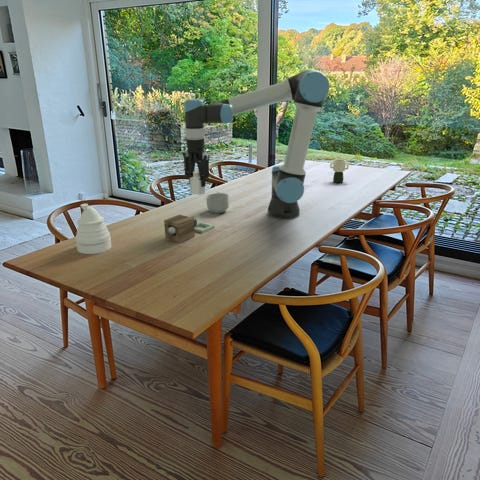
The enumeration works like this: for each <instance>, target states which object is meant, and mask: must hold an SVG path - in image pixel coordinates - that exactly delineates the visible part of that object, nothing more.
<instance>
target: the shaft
mask: <svg viewBox="0 0 480 480" xmlns="http://www.w3.org/2000/svg"><path fill="white" fill-rule="evenodd" d="M191 217H192V218H194V228H195V227H196V226H197V223H198V220H197V219H196V218H195V217H194V216H191ZM196 228H197V227H196ZM168 233H169V234H170V235H172V234H175V233H176V229H175V226H172V227H170V228H168Z"/></svg>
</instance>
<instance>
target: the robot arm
mask: <svg viewBox="0 0 480 480" xmlns="http://www.w3.org/2000/svg"><path fill="white" fill-rule="evenodd" d="M329 91H330V81H329V78H328V77H327V75H325V74H324V73H323V72H321V71H320V70H318V69H316V70H315V69H307V70H303V71H301V72H299V73H296V74H295V75H292V76H290V77H289V76H288V77H286V78H285V79H284V81H282V82H278V83H275V84H272V85H267V86H266V87H262V88H259V89H255V90H252V91H247V92H245V93H242V94H238V95H236V96H232V97H228V98H225V99H223V100H216V101H214V102H213V103H210V104H204V100H203V99H201V98H198V99H197V98H191V99H185V101H184V123H185V124H184V125H185V137H186V140H185V141H186V143H185V144H186V148H187V151H184V152H182V157H183V166H184V175H185V176H186V177H188V185H189V192H190V193H191V194H192V185H191V180H192V179H193V172H194V171H196V170H195V168H196V165H197V171H199V175H200V179H199V195H198V196H200V195H201V196H202V195H204V194H205V193H206V190H205V188H206V185H207V184H206V179H208V178H210V164H209V162H210V157H211V156H210V154H207V153H205V150H204V149H205V145H206V144H205V139H204V138H205V124H224V125H225V124H231V123H233V121H234V120H233V118H234V116H237V115H240V114H243V113H247V112H251V111H254V110H257V109H260V108H264V107H268V106H271V105H275V104H276V103H280V102H284V101H291V102H293V103H294V105H295V107H296V108H295V112H294V117H293V121H292V122H293V123H292V126H291V131H290V136H289V139H288V144H287V147H286V148H287V149H286V153H285V158H284V162H283V164H281V165H279V164H278V165H274V166H272V167H271V168H272V169H271V198H270V201H269V204H268V207H267V215H268V216H269V217H271V218H276V219H294V218H296V217H299V216H300V214H301V213H300V212H301V211H300V207H299V206H300V205H299V203H298V201H299V200H301V198H303V196H304V193H305V185H304V183H305V180H306V179H305V178H306V176H307V175H306V174H307V173H306V171H305V163H306V159H307V156H308V150H309V147H310V143H311V139H312V135H313V130H314V126H315V123H316V117H317V113H318V111H320V110H322V108H323V104H324V100H325V98H326V97H327V96H328V95H329Z"/></svg>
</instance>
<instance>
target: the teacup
mask: <svg viewBox="0 0 480 480" xmlns="http://www.w3.org/2000/svg"><path fill="white" fill-rule="evenodd" d="M205 199H206V206H207V209H208V211H210V212H211V213H212V214H222V213H224V212H226V211H227V210H228V208H229V205H230V204H229V203H230V202H229V194H228V193H225V192H218V191H217V192H216V193H215V192H214V193H210V194H208V195H206V196H205Z"/></svg>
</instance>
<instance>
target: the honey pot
mask: <svg viewBox="0 0 480 480" xmlns="http://www.w3.org/2000/svg"><path fill="white" fill-rule="evenodd" d="M80 208H81V209H82V213H81V216H80V217H79V218H78V219H77V220H76V223H77V224H78V225H77V228H76V230H77V231H76V234H75V243H76V249H77V252H78V253H80V254H83V255H84V254H85V255H94V254H101V253H104V252H107V251H108V250H110V249H111V248H112V239H111V234H110V231H109V230H108V227H107V224H106V223H105V217H104V216H102V215H100V213H99V212H98V211H97V210H96V209H95V208H94V207H92V206H89V204H88V203H83V204H80ZM106 250H107V251H106Z"/></svg>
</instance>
